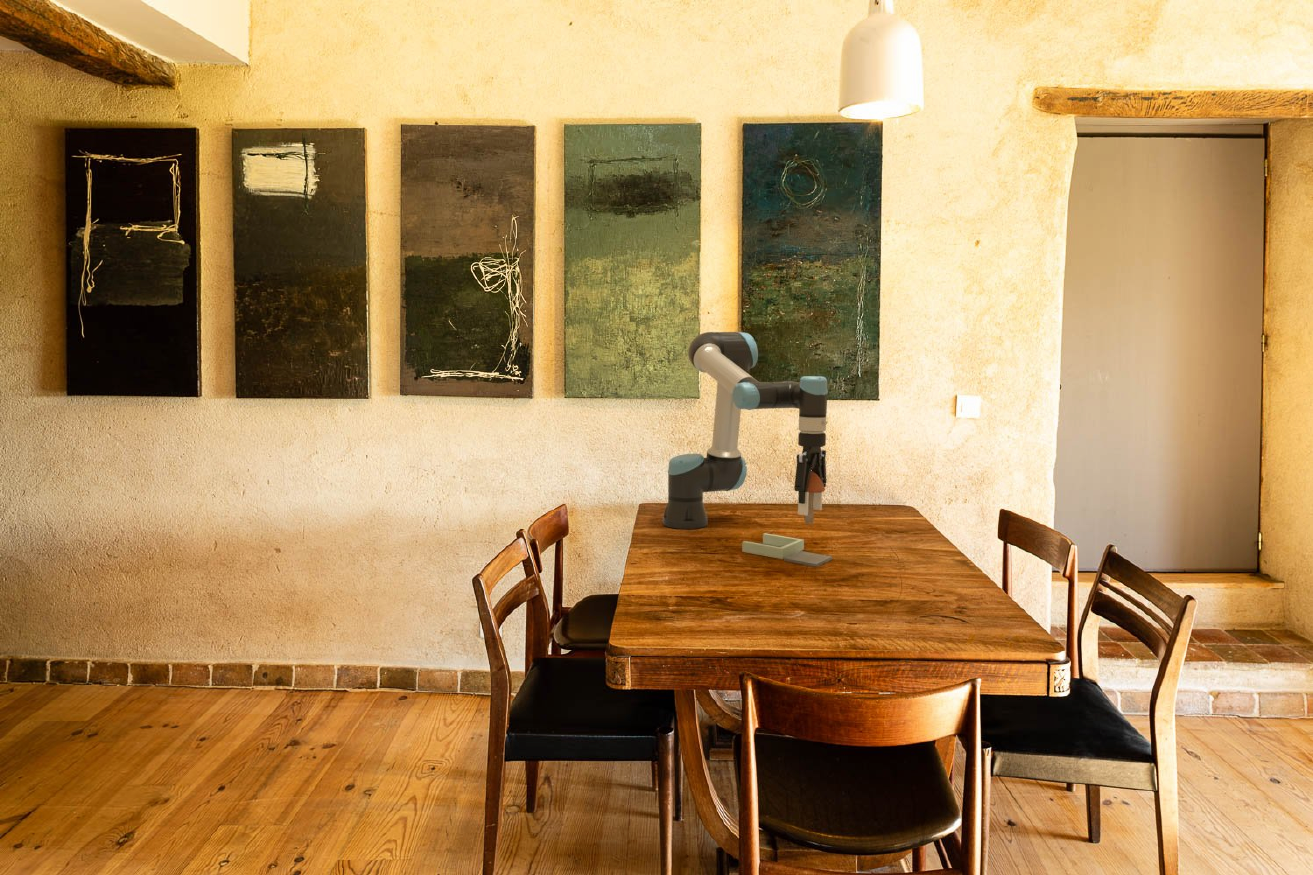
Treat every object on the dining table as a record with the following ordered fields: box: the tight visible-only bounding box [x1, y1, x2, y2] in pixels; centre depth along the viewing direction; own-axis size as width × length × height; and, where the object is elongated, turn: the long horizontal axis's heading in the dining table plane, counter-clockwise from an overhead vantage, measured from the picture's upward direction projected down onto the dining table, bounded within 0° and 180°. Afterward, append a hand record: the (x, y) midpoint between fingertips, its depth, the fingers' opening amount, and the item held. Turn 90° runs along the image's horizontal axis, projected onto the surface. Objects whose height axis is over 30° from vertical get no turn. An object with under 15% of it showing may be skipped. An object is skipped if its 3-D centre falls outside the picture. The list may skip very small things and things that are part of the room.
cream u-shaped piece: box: [741, 533, 805, 560], centre depth 244 cm, size 13×13×3 cm
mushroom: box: [803, 470, 826, 525], centre depth 231 cm, size 8×8×15 cm
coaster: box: [783, 550, 833, 568], centre depth 234 cm, size 10×10×1 cm
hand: (809, 512), depth 232 cm, fingers closed on mushroom, 8 cm apart
